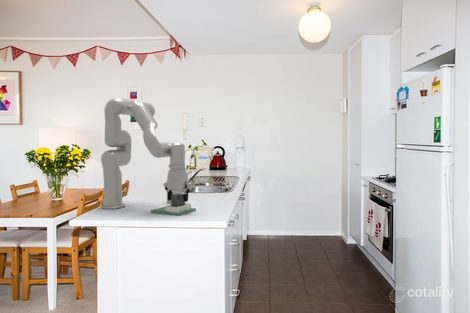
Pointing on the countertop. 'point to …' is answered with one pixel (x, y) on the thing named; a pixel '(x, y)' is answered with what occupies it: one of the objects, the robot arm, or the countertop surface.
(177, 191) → the skincare box
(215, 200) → the countertop surface
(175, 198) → the dark gray block
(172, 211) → the header board
